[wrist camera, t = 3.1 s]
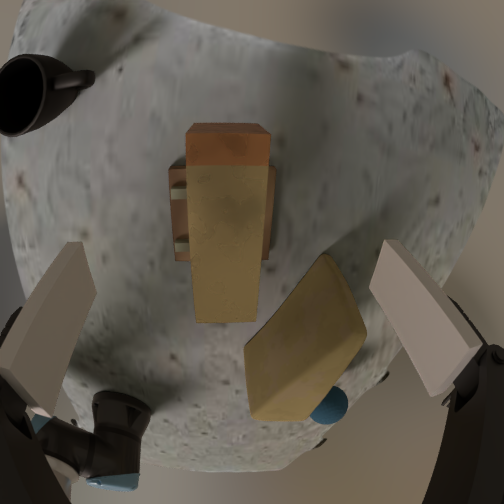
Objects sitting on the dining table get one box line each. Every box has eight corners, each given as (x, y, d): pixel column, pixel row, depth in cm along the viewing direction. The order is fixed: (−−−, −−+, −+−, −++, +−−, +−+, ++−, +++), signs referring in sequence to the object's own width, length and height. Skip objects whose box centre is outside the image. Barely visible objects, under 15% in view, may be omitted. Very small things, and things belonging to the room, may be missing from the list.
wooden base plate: (176, 254, 38) (171, 282, 32) (170, 166, 31) (161, 182, 26) (266, 253, 39) (274, 280, 34) (274, 166, 33) (285, 181, 28)
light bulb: (311, 362, 54) (327, 412, 44) (343, 364, 56) (361, 411, 46) (292, 384, 58) (303, 431, 47) (323, 386, 60) (337, 429, 50)
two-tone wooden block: (245, 262, 32) (255, 321, 24) (199, 263, 31) (196, 323, 23) (253, 119, 24) (270, 134, 16) (196, 119, 23) (185, 133, 15)
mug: (116, 115, 27) (81, 126, 19) (35, 125, 25) (-11, 143, 17) (121, 47, 23) (86, 35, 15) (36, 64, 21) (-11, 66, 13)
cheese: (296, 243, 39) (333, 322, 26) (352, 260, 42) (398, 332, 29) (240, 347, 49) (249, 423, 36) (288, 354, 52) (306, 424, 39)
